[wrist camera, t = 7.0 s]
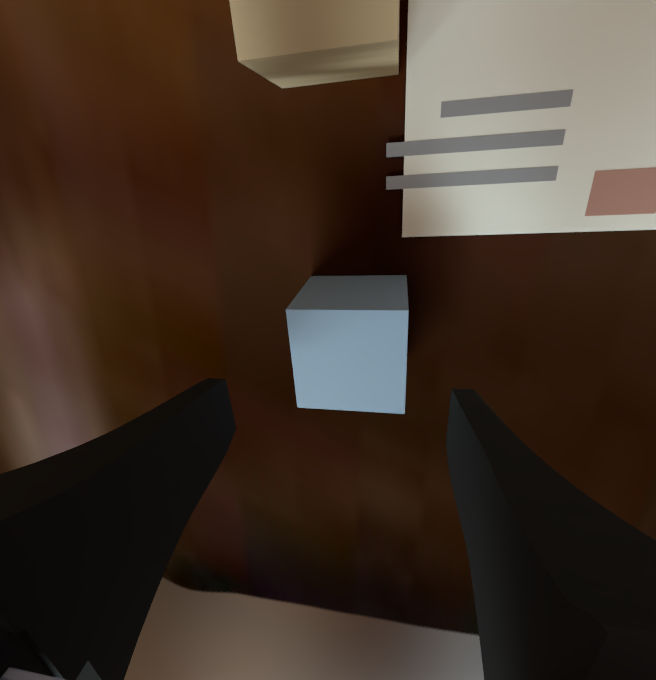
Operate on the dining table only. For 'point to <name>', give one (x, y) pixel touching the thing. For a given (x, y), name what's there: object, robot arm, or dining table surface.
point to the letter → (528, 117)
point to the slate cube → (350, 343)
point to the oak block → (317, 39)
